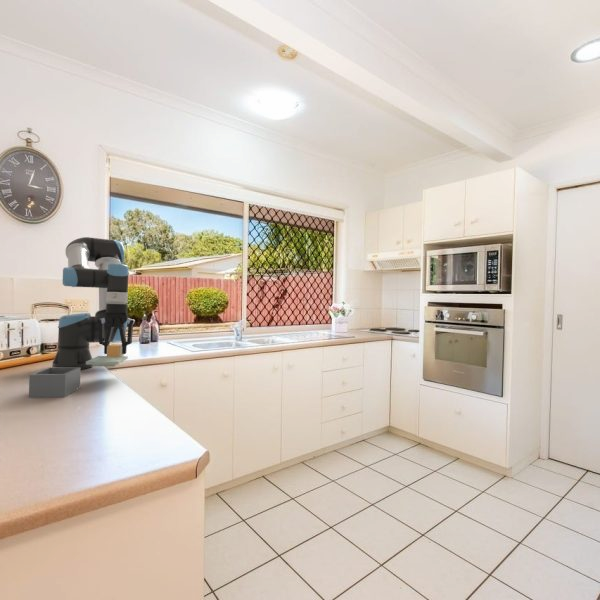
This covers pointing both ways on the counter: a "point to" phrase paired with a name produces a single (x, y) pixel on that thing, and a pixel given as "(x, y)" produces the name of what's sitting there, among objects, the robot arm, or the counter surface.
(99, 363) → the lid
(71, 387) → the tub
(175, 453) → the counter surface
